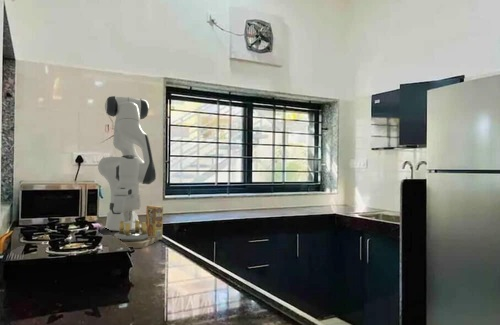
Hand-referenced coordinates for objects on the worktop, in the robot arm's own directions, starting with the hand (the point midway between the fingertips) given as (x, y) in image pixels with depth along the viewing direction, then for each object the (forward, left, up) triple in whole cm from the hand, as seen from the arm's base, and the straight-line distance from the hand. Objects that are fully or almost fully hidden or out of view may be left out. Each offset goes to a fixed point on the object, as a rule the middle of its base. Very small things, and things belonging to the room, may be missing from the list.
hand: (127, 221), depth 175 cm
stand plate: (+5, +5, -9) cm, 11 cm away
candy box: (-9, +9, -9) cm, 16 cm away
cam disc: (+6, +5, -6) cm, 10 cm away
